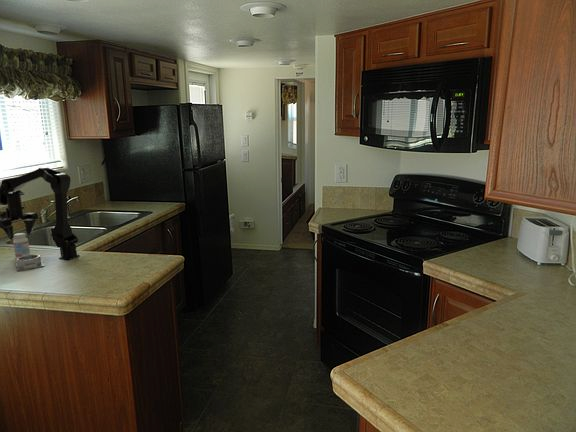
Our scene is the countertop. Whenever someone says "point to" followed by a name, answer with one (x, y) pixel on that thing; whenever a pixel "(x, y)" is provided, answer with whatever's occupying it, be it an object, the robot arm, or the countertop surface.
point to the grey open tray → (29, 262)
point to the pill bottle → (21, 245)
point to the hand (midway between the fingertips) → (20, 237)
